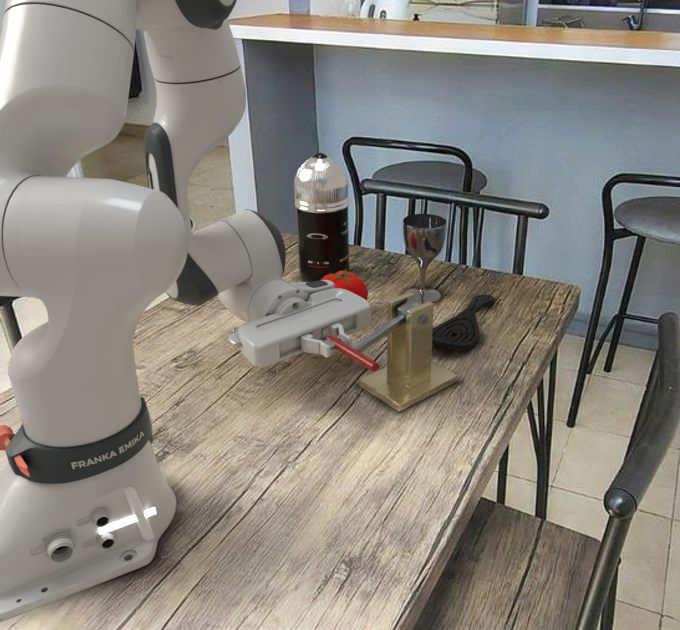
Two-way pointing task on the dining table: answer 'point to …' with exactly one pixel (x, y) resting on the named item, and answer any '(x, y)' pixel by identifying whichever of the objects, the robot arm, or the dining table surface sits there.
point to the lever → (373, 338)
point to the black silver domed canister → (321, 218)
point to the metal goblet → (424, 248)
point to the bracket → (408, 359)
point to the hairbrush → (461, 326)
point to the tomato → (348, 283)
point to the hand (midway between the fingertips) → (340, 348)
